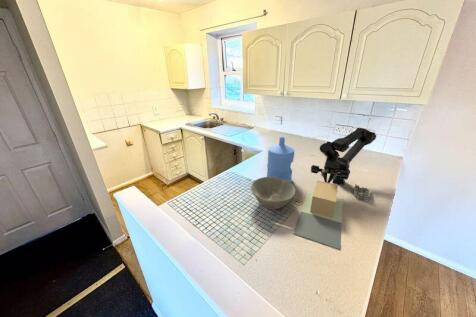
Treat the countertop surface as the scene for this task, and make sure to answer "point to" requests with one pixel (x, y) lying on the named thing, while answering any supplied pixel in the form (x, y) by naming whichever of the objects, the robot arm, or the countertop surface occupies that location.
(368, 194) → the egg carton
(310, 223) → the board
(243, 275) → the countertop surface
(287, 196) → the ceramic bowl
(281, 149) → the water jug
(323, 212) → the kraft carton
